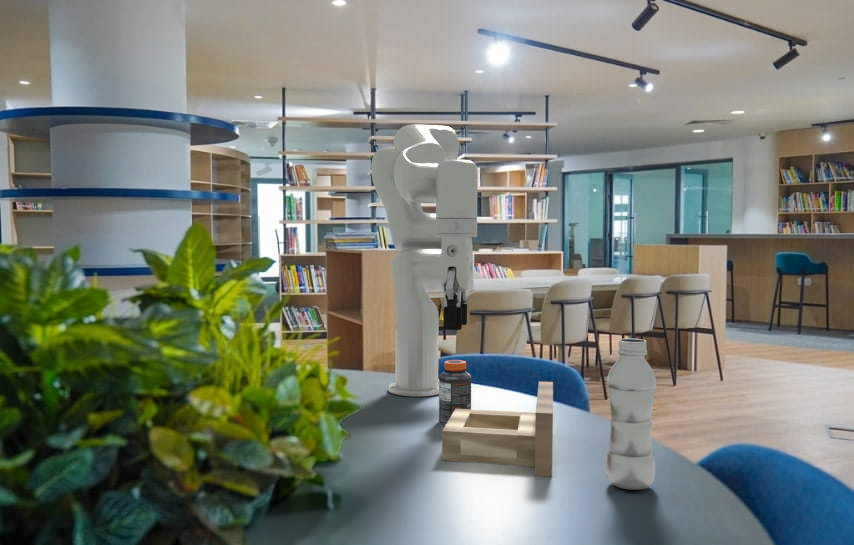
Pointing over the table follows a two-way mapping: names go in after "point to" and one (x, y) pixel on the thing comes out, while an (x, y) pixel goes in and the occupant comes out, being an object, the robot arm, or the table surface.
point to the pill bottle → (453, 389)
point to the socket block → (490, 437)
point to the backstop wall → (544, 429)
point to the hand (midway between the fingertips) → (455, 326)
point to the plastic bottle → (631, 417)
